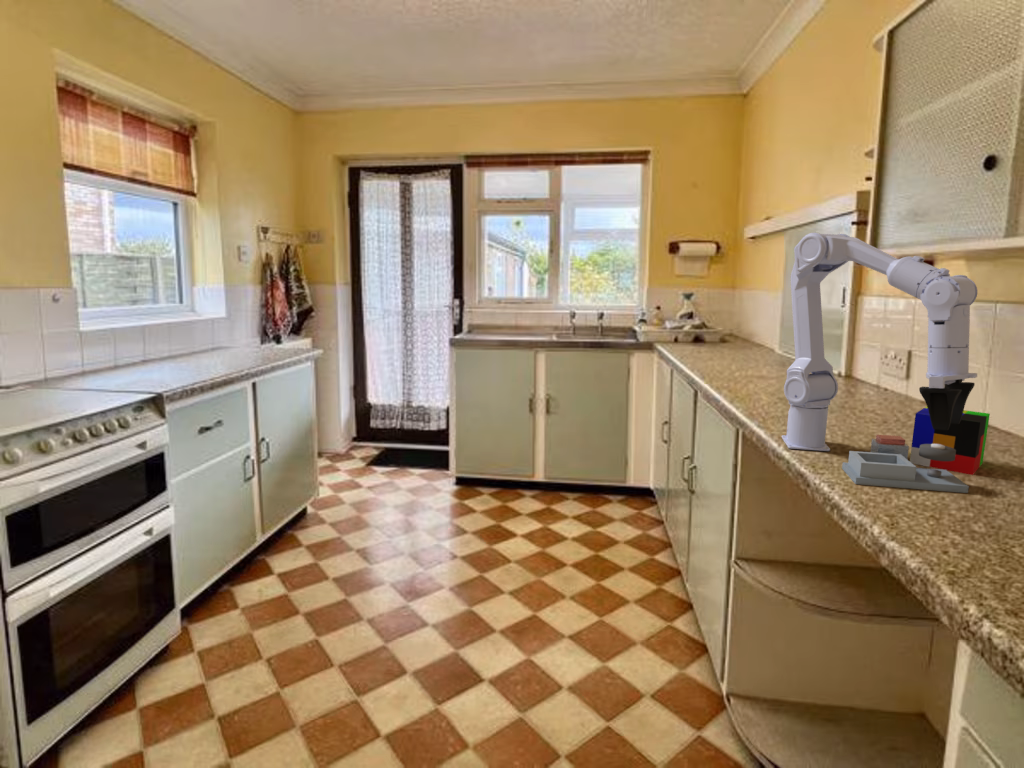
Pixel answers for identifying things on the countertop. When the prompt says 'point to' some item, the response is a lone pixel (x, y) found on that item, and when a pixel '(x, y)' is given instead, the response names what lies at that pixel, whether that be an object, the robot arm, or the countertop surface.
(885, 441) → the red and grey block
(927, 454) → the wheel
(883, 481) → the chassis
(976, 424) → the puzzle toy
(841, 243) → the robot arm
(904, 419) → the countertop surface
